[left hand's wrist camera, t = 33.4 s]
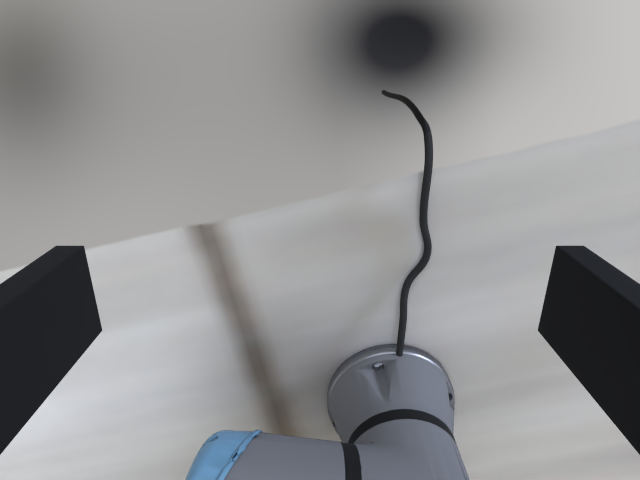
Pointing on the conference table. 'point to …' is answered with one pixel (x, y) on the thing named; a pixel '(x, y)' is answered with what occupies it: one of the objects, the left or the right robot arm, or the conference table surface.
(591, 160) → the conference table surface
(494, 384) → the conference table surface
